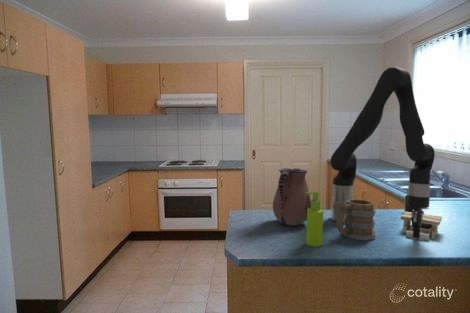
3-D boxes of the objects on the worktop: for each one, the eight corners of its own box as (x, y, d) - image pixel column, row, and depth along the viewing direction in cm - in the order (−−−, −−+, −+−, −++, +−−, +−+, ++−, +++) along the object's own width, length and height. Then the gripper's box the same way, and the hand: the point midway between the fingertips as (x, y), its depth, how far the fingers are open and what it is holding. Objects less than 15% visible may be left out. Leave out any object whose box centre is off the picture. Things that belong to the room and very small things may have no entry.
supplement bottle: (417, 212, 175) (418, 189, 174) (420, 215, 169) (421, 192, 168) (403, 210, 177) (404, 188, 176) (405, 213, 171) (406, 191, 170)
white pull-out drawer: (428, 241, 129) (428, 235, 129) (405, 237, 133) (406, 231, 133) (431, 231, 141) (431, 226, 141) (410, 228, 146) (410, 222, 145)
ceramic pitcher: (314, 220, 155) (316, 168, 153) (304, 233, 136) (305, 173, 134) (278, 216, 163) (279, 166, 160) (264, 227, 143) (265, 171, 141)
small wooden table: (438, 238, 132) (439, 222, 131) (399, 231, 140) (400, 216, 139) (440, 232, 141) (441, 216, 140) (404, 225, 149) (405, 211, 148)
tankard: (360, 229, 143) (361, 195, 142) (382, 238, 131) (384, 201, 130) (321, 233, 136) (322, 198, 135) (341, 243, 124) (342, 205, 123)
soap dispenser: (301, 241, 126) (303, 190, 125) (318, 241, 127) (320, 190, 125) (306, 246, 121) (307, 193, 119) (324, 246, 121) (326, 193, 119)
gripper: (427, 198, 121) (424, 244, 122) (431, 193, 131) (429, 235, 133) (404, 195, 125) (402, 239, 127) (410, 190, 136) (408, 231, 137)
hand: (416, 237), depth 130 cm, fingers closed
